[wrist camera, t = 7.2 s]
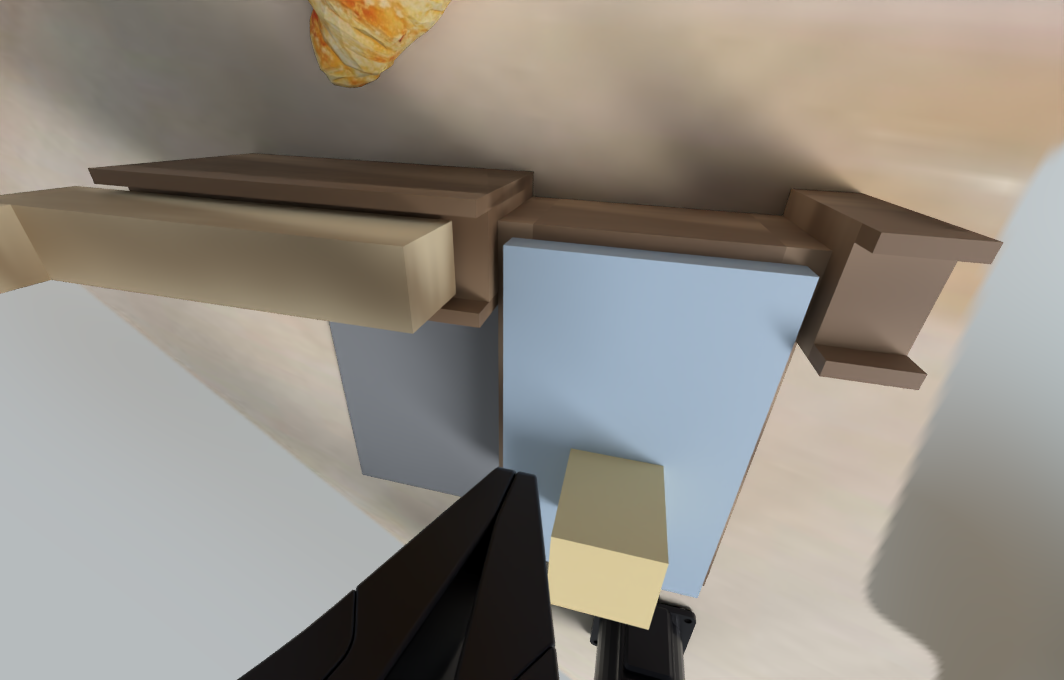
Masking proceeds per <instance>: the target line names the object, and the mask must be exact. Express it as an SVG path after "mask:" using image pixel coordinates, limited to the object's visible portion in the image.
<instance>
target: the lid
mask: <svg viewBox="0 0 1064 680" xmlns="http://www.w3.org/2000/svg"><path fill="white" fill-rule="evenodd" d="M818 280H819V276H818V275H816V274H815V273H814V272H813V271H812V270H811V269H810V268H809V267H808V266H802V265H791V264H781V263H771V262H760V261H750V260H740V259H730V258H719V257H709V256H699V255H688V254H678V253H668V252H658V251H647V250H637V249H627V248H616V247H606V246H596V245H586V244H575V243H565V242H555V241H544V240H534V239H524V238H514V237H512V238H511V239H510V240H509V241H508V242H506V243H505V244H504V245H503V468H507V469H512V470H515V471H516V473H517V472H519V471H522V472H526V473H531V474H535V475H536V476H537V481H538V490H539V499H540V509H541V518H542V527H543V536H544V545H545V555H546V561H548V562H549V566H548V582H549V591H550V601H551V604H553V605H557V606H560V607H564V608H568V609H572V610H575V611H579V612H583V613H587V614H591V615H594V616H598V617H602V618H606V619H610V620H613V621H617V622H621V623H625V624H628V625H632V626H636V627H640V628H644V629H647V630H649V627H650V624H651V620H652V617H653V614H654V611H655V607H656V604H657V601H658V597H659V594H660V591H661V589H662V590H666V591H670V592H674V593H678V594H682V595H686V596H691V597H695V598H698V595H699V592H700V590H701V587H702V585H703V582H704V579H705V577H706V574H707V571H708V569H709V566H710V564H711V561H712V558H713V556H714V553H715V550H716V548H717V545H718V543H719V540H720V537H721V535H722V532H723V529H724V527H725V524H726V522H727V519H728V516H729V514H730V511H731V508H732V506H733V503H734V500H735V498H736V495H737V493H738V490H739V487H740V485H741V482H742V479H743V477H744V474H745V472H746V469H747V466H748V464H749V461H750V458H751V456H752V453H753V451H754V448H755V445H756V443H757V440H758V437H759V435H760V432H761V430H762V427H763V424H764V422H765V419H766V416H767V414H768V411H769V408H770V406H771V403H772V401H773V398H774V395H775V393H776V390H777V387H778V385H779V382H780V380H781V377H782V374H783V372H784V369H785V366H786V364H787V361H788V359H789V356H790V353H791V351H792V348H793V345H794V343H795V340H796V337H797V335H798V332H799V330H800V327H801V324H802V322H803V319H804V316H805V314H806V311H807V309H808V306H809V303H810V301H811V298H812V295H813V293H814V290H815V288H816V285H817V282H818Z"/></svg>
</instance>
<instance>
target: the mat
mask: <svg viewBox="0 0 1064 680" xmlns="http://www.w3.org/2000/svg"><path fill="white" fill-rule="evenodd" d="M329 324H330V328H331V333H332V337H333V342H334V346H335V351H336V356H337V360H338V365H339V369H340V374H341V378H342V383H343V387H344V392H345V397H346V401H347V406H348V410H349V415H350V419H351V424H352V429H353V433H354V438H355V442H356V447H357V451H358V456H359V461H360V465H361V470H362V474H363V475H367V476H371V477H376V478H380V479H385V480H389V481H394V482H398V483H402V484H407V485H411V486H416V487H420V488H425V489H429V490H434V491H438V492H443V493H447V494H452V495H456V496H461V497H462V496H463V495H464V494H466V493H467V492H468V491H469V490H470V489H471V488H473V487H474V486H475V485H476V484H477V483H478V482H480V481H481V480H482V479H483V478H484V477H485V476H487V475H488V474H489V473H490V472H491V471H492V470H494V469H495V468H497V467H499V368H498V305H497V306H496V308H495V309H494V310H493V311H492V313H491V314H490V315H489V317H488V318H487V319H486V320H485V322H484V323H483V324H482V325H481V327H480V328H477V327H470V326H463V325H456V324H449V323H441V322H434V321H426V322H425V323H424V324H423V325H422V326H421V327H420V328H419V329H418V330H417V331H416V332H414V333H413V334H411V333H404V332H397V331H391V330H384V329H377V328H371V327H364V326H357V325H351V324H344V323H337V322H330V321H329Z"/></svg>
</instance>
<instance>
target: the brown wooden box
mask: <svg viewBox="0 0 1064 680" xmlns="http://www.w3.org/2000/svg"><path fill="white" fill-rule="evenodd" d="M88 170H89V172H90V174H91V177H92V179H93V181H94V183H95V184H103V185H114V186H125V187H128V188H129V190H130V191H135V192H145V193H156V194H167V195H178V196H189V197H200V198H211V199H222V200H232V201H243V202H254V203H265V204H276V205H287V206H298V207H308V208H319V209H330V210H341V211H352V212H363V213H374V214H385V215H395V216H406V217H417V218H428V219H439V220H450V221H452V232H453V249H454V267H455V285H456V294H455V295H454V296H453V297H452V298H451V299H450V300H449V301H448V302H447V303H446V304H445V305H443V306H442V307H441V308H440V309H439V310H438V311H437V312H436V313H435V314H434V315H433V316H432V317H431V318H430V319H428V320H427V321H434V322H441V323H449V324H456V325H463V326H470V327H477V328H480V327H481V325H482V324H483V323H484V322H485V320H486V319H487V318H488V317H489V315H490V314H491V313H492V311H493V310H494V309H495V308H496V306H497V305H498V368H499V467H502V468H503V245H504V244H505V243H506V242H508V241H509V240H510V239H511V238H512V237H514V238H524V239H534V240H544V241H555V242H565V243H575V244H586V245H596V246H606V247H616V248H627V249H637V250H647V251H658V252H668V253H678V254H688V255H699V256H709V257H719V258H730V259H740V260H750V261H760V262H771V263H781V264H791V265H802V266H808V267H809V268H810V269H811V270H812V271H813V272H814V273H815V274H816V275H818V276H819V280H818V282H817V285H816V288H815V290H814V293H813V295H812V298H811V301H810V303H809V306H808V309H807V311H806V314H805V316H804V319H803V322H802V324H801V327H800V330H799V332H798V335H797V337H796V340H795V343H794V345H793V348H792V351H791V353H790V356H789V359H788V361H787V364H786V366H785V369H784V372H783V374H782V377H781V380H780V382H779V385H778V387H777V390H776V393H775V395H774V398H773V401H772V403H771V406H770V408H769V411H768V414H767V416H766V419H765V422H764V424H763V427H762V430H761V432H760V435H759V437H758V440H757V443H756V445H755V448H754V451H753V453H752V456H751V458H750V461H749V464H748V466H747V469H746V472H745V474H744V477H743V479H742V482H741V485H740V487H739V490H738V493H737V495H736V498H735V500H734V503H733V506H732V508H731V511H730V514H729V516H728V519H727V522H726V524H725V527H724V529H723V532H722V535H721V537H720V540H719V543H718V545H717V548H716V550H715V553H714V556H713V558H712V561H711V564H710V566H709V569H708V571H707V574H706V577H705V579H704V582H703V585H702V586H704V584H705V582H706V579H707V577H708V574H709V571H710V569H711V566H712V564H713V561H714V558H715V556H716V553H717V551H718V548H719V545H720V543H721V540H722V538H723V535H724V532H725V530H726V527H727V524H728V522H729V519H730V517H731V514H732V511H733V509H734V506H735V504H736V501H737V498H738V496H739V493H740V491H741V488H742V485H743V483H744V480H745V478H746V475H747V472H748V470H749V467H750V465H751V462H752V459H753V457H754V454H755V452H756V449H757V446H758V444H759V441H760V439H761V436H762V433H763V431H764V428H765V426H766V423H767V420H768V418H769V415H770V413H771V410H772V407H773V405H774V402H775V400H776V397H777V394H778V392H779V389H780V386H781V384H782V381H783V379H784V376H785V373H786V371H787V368H788V366H789V363H790V360H791V358H792V355H793V353H794V350H795V347H796V345H797V343H798V345H799V346H800V348H801V349H802V351H803V352H804V354H805V355H806V357H807V358H808V360H809V361H810V363H811V364H812V366H813V367H814V369H815V370H816V371H817V373H818V374H819V376H822V377H829V378H836V379H843V380H851V381H858V382H865V383H872V384H879V385H886V386H893V387H900V388H907V389H914V390H919V388H920V386H921V384H922V383H923V381H924V379H925V378H926V376H927V374H926V373H925V372H924V371H923V370H922V369H921V368H920V367H919V366H917V365H916V364H915V363H914V362H913V361H912V360H911V359H910V358H909V357H908V356H907V355H908V353H909V351H910V349H911V347H912V345H913V343H914V341H915V340H916V338H917V336H918V334H919V332H920V330H921V328H922V327H923V325H924V323H925V321H926V319H927V317H928V315H929V313H930V312H931V310H932V308H933V306H934V304H935V302H936V300H937V299H938V297H939V295H940V293H941V291H942V289H943V287H944V285H945V284H946V282H947V280H948V278H949V276H950V274H951V272H952V270H953V269H954V267H955V265H956V263H957V261H962V262H973V263H984V264H991V263H992V261H993V260H994V258H995V256H996V254H997V253H998V251H999V249H1000V248H1001V246H1002V244H1003V242H1001V241H998V240H995V239H992V238H989V237H986V236H984V235H981V234H978V233H975V232H972V231H969V230H966V229H963V228H961V227H958V226H955V225H952V224H949V223H946V222H943V221H940V220H938V219H935V218H932V217H929V216H926V215H923V214H920V213H917V212H915V211H912V210H909V209H906V208H903V207H900V206H897V205H895V204H892V203H889V202H886V201H883V200H880V199H877V198H874V197H872V196H869V195H866V194H863V193H848V192H833V191H818V190H803V189H791V192H790V195H789V198H788V201H787V205H786V208H785V211H784V214H783V216H779V215H766V214H753V213H740V212H727V211H714V210H701V209H688V208H675V207H662V206H650V205H637V204H624V203H611V202H598V201H585V200H572V199H559V198H546V197H533V172H529V171H514V170H499V169H484V168H469V167H453V166H438V165H423V164H408V163H393V162H377V161H362V160H347V159H332V158H317V157H302V156H286V155H271V154H256V153H251V154H240V155H229V156H218V157H207V158H196V159H185V160H174V161H163V162H152V163H141V164H130V165H118V166H107V167H96V168H88Z"/></svg>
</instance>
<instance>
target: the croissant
mask: <svg viewBox="0 0 1064 680" xmlns="http://www.w3.org/2000/svg"><path fill="white" fill-rule="evenodd" d="M308 1H309V2H310V4H311V5H312V7H313V11H312V15H311V18H310V38H311V42H312V46H313V50H314V53H315V56H316V58H317V61H318V64H319V67H320V70H321V71H323V72H324V73H325V74H326V75H327V77H328V79H329V80H330V82H331V83H333V84H334V85H337V86H342V87H349V88H352V87H353V88H356V87H362V86H363V85H365V84H367V83H370V82H372V81H374V80H376V79H377V78H378V77H379V76H380V73H381V72H383V71H385V70H386V69H388V68H389V67H390V66H392V65H393V64H394V60H395V59H396V58H397V57H398V56H399V55H400V54H401V53H402V52H403V51H404V50H405V49H406V48H407V47H408V46H409V45H410V44H411V43H412V42H414V41H415V40H416V39H417V38H418V37H420V36H421V35H423V34H424V33H426V32H427V31H428V30H429V29H430V28H431V27H432V26H433V25H434V24H435V23H436V22H437V21H438V20H439V18H440V17H441V16H442V14H443V12H444V11H445V9H446V7H447V5H448V4H449V3H450V2H451V0H308Z"/></svg>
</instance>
